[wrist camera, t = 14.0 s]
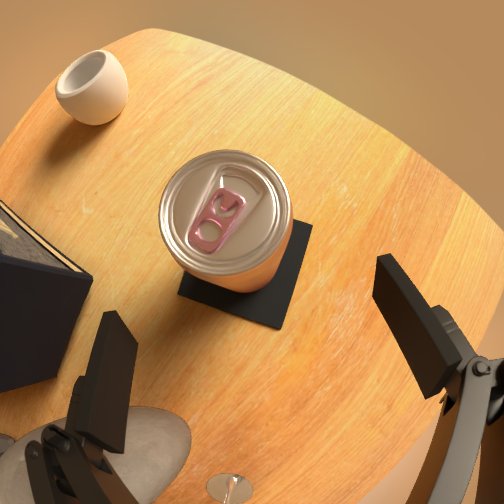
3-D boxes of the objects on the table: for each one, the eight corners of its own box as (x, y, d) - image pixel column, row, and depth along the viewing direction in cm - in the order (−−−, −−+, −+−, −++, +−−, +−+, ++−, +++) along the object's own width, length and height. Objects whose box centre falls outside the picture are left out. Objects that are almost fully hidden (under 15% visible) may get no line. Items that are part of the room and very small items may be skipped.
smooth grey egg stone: (86, 455, 24) (-12, 523, 5) (60, 404, 25) (-58, 448, 6) (224, 433, 24) (175, 577, 6) (195, 370, 25) (85, 470, 7)
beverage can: (200, 271, 27) (128, 234, 12) (234, 216, 27) (203, 126, 13) (256, 305, 26) (247, 310, 11) (290, 248, 27) (320, 184, 12)
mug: (148, 98, 31) (126, 56, 23) (98, 145, 30) (65, 111, 22) (106, 69, 32) (84, 35, 25) (64, 108, 32) (36, 79, 24)
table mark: (312, 225, 27) (313, 225, 27) (280, 329, 26) (281, 329, 25) (212, 195, 28) (212, 195, 28) (177, 294, 26) (177, 294, 26)
